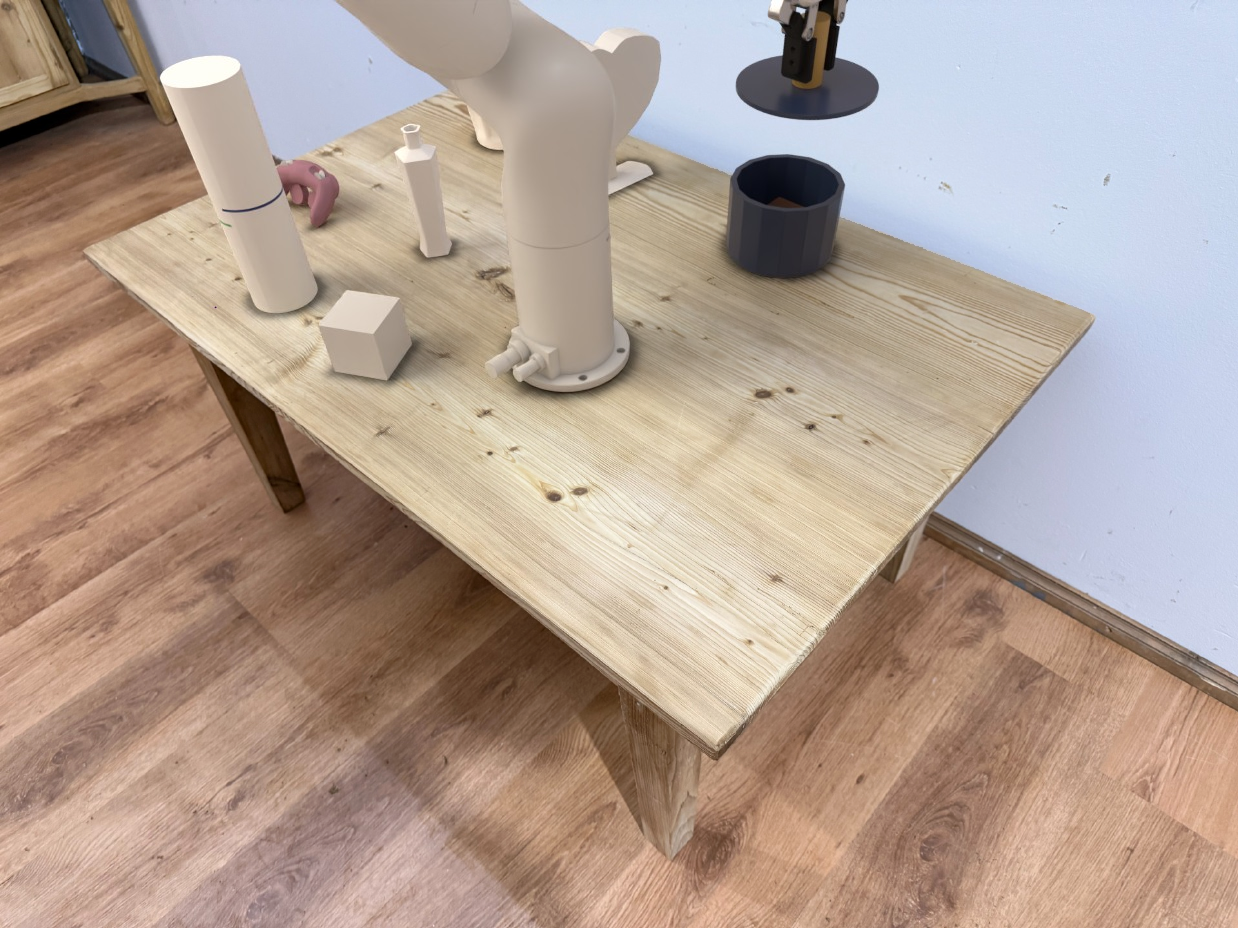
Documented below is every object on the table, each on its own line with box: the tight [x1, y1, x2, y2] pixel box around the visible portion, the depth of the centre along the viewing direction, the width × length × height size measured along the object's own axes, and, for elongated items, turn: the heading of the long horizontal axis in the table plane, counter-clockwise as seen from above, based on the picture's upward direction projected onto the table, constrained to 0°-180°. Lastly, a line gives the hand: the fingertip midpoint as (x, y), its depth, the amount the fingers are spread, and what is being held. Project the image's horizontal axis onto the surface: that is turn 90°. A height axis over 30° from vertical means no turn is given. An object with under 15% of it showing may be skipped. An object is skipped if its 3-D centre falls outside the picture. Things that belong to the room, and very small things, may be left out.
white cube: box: [317, 289, 413, 381], centre depth 87 cm, size 6×6×6 cm
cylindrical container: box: [159, 55, 318, 314], centre depth 88 cm, size 7×7×25 cm
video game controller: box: [276, 159, 340, 227], centre depth 108 cm, size 10×5×7 cm, turn 58°
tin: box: [725, 153, 846, 279], centre depth 97 cm, size 12×12×8 cm
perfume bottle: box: [394, 123, 453, 259], centre depth 97 cm, size 5×4×15 cm
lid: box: [735, 11, 880, 121], centre depth 80 cm, size 14×14×7 cm
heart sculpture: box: [578, 26, 662, 196], centre depth 105 cm, size 16×5×18 cm, turn 131°
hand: (807, 71), depth 81 cm, fingers closed on lid, 2 cm apart
